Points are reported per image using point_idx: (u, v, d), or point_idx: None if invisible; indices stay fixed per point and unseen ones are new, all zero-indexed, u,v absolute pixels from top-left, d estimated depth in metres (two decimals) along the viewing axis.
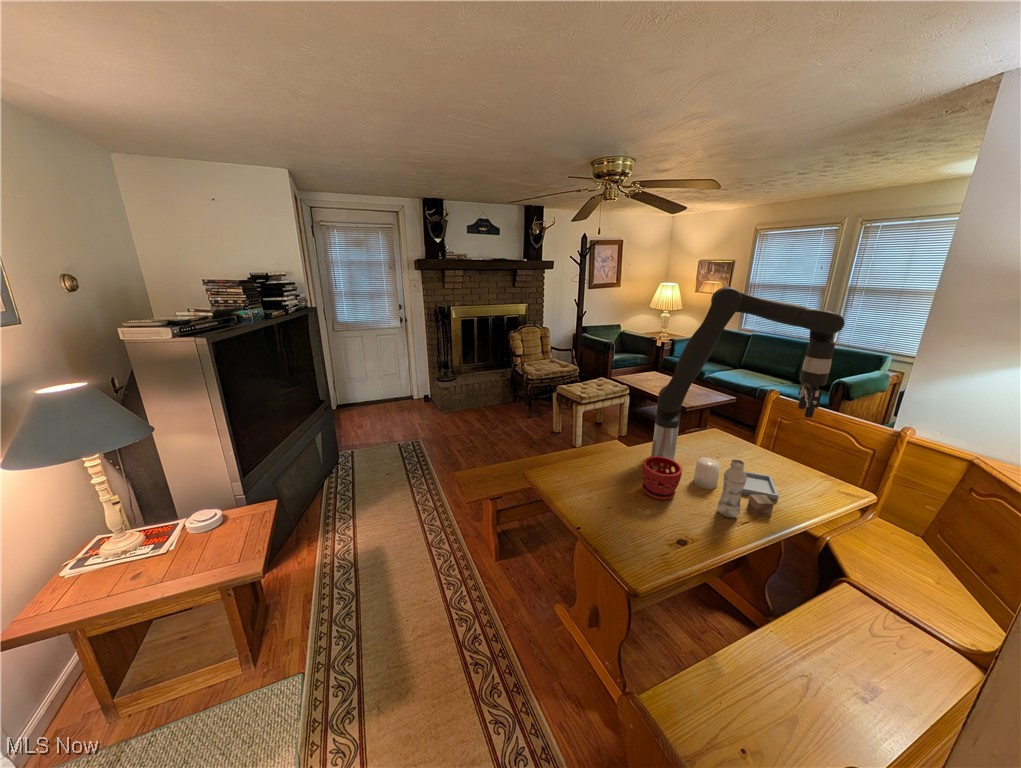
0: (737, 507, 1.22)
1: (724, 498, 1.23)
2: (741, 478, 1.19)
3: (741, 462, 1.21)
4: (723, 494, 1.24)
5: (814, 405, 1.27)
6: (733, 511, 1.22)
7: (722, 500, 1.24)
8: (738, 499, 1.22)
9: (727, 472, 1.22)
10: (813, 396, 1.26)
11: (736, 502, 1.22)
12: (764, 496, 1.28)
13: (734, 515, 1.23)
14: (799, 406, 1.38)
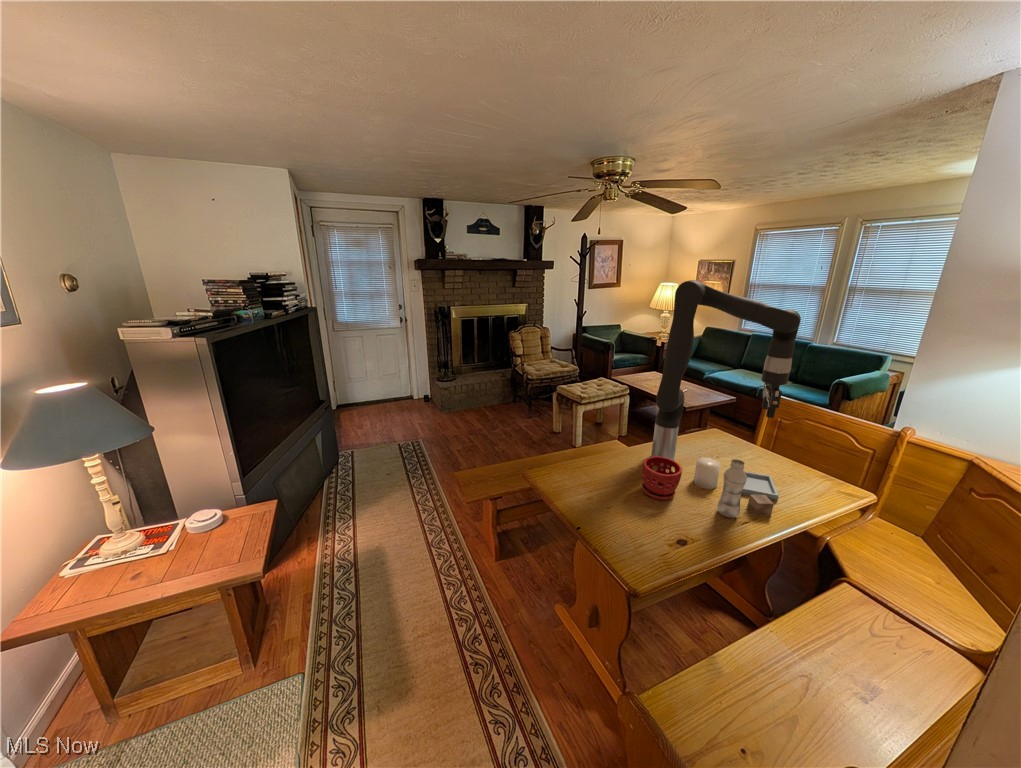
0: (737, 507, 1.22)
1: (724, 498, 1.23)
2: (741, 478, 1.19)
3: (741, 462, 1.21)
4: (723, 494, 1.24)
5: (774, 405, 1.25)
6: (733, 511, 1.22)
7: (722, 500, 1.24)
8: (738, 499, 1.22)
9: (727, 472, 1.22)
10: (773, 396, 1.24)
11: (736, 501, 1.22)
12: (764, 496, 1.28)
13: (734, 515, 1.23)
14: (763, 406, 1.36)
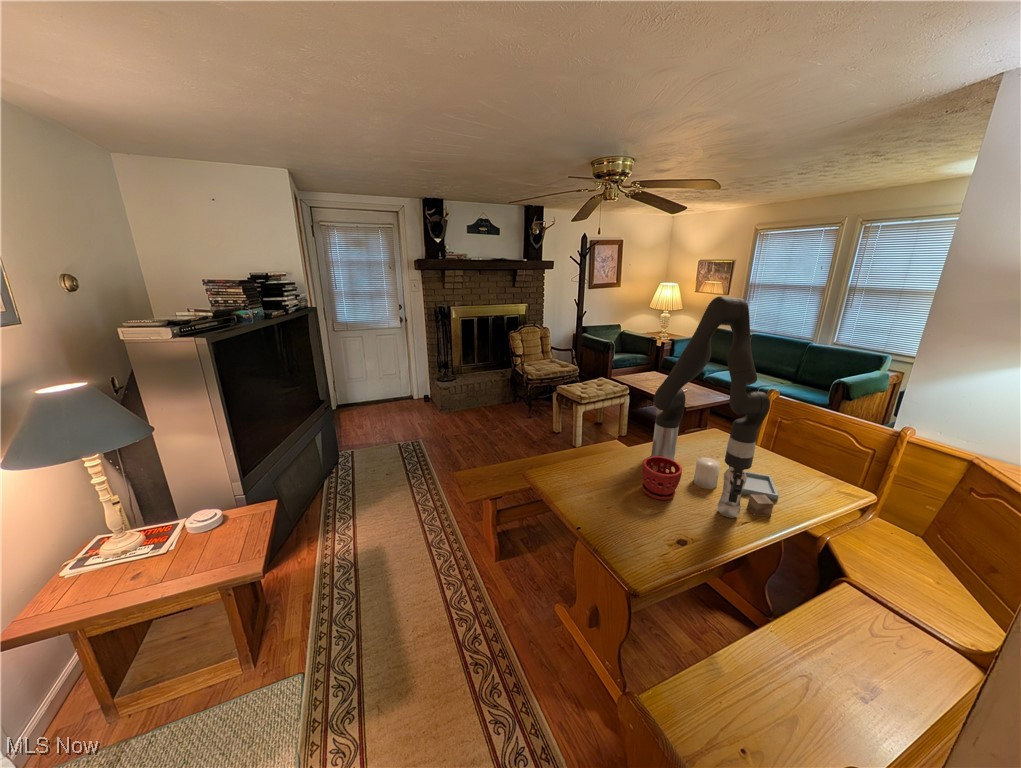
0: (737, 507, 1.22)
1: (724, 498, 1.23)
2: (741, 478, 1.19)
3: None
4: (723, 494, 1.24)
5: (736, 492, 1.17)
6: (733, 511, 1.22)
7: (722, 500, 1.24)
8: (738, 499, 1.22)
9: (727, 472, 1.22)
10: (735, 484, 1.16)
11: (736, 502, 1.22)
12: (764, 496, 1.28)
13: (734, 515, 1.23)
14: None
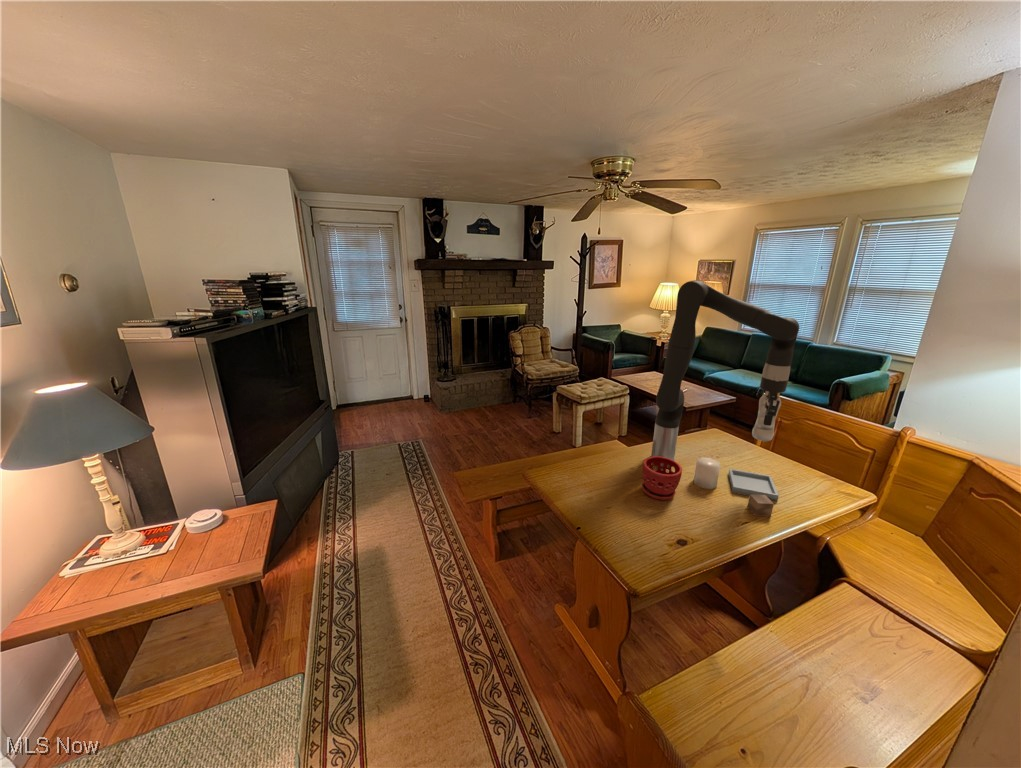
0: (772, 430, 1.32)
1: (759, 423, 1.32)
2: None
3: None
4: (758, 419, 1.33)
5: (772, 413, 1.27)
6: (767, 435, 1.32)
7: (757, 425, 1.33)
8: (773, 423, 1.31)
9: (763, 397, 1.31)
10: (771, 405, 1.25)
11: (770, 425, 1.31)
12: (764, 496, 1.28)
13: (769, 438, 1.32)
14: None
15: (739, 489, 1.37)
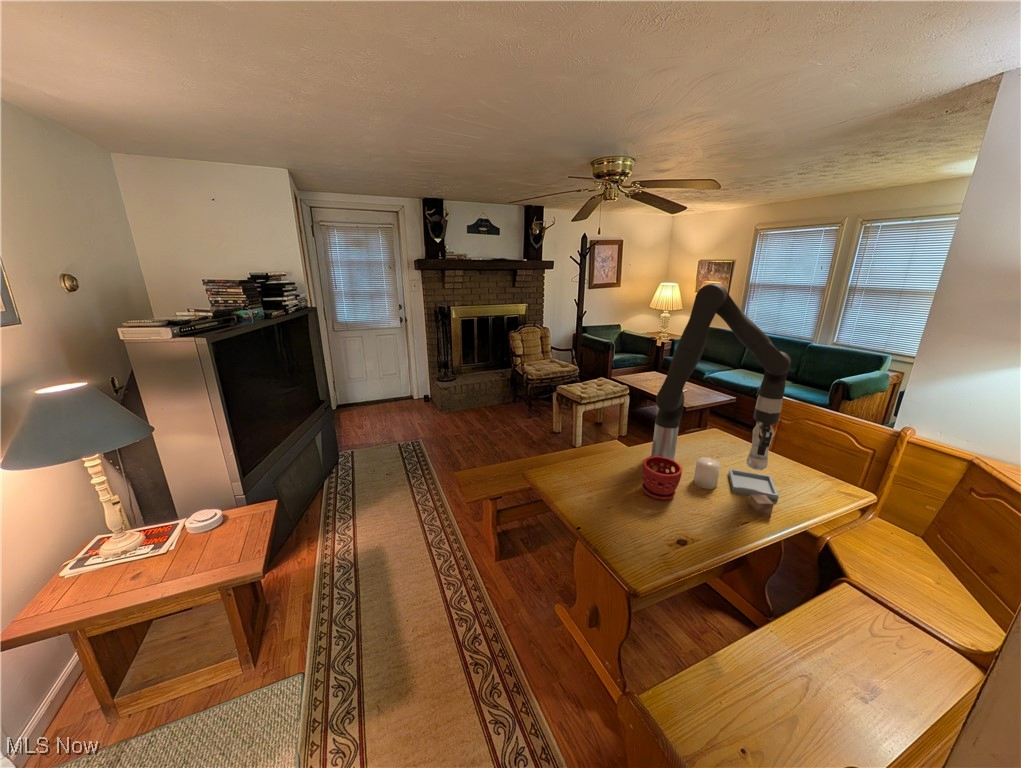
0: (765, 460, 1.35)
1: (753, 452, 1.36)
2: None
3: None
4: (752, 449, 1.37)
5: (765, 444, 1.30)
6: (761, 464, 1.35)
7: (751, 454, 1.37)
8: (766, 452, 1.34)
9: (756, 428, 1.34)
10: (764, 437, 1.29)
11: (764, 455, 1.35)
12: (764, 496, 1.28)
13: (762, 467, 1.36)
14: None
15: (739, 489, 1.37)
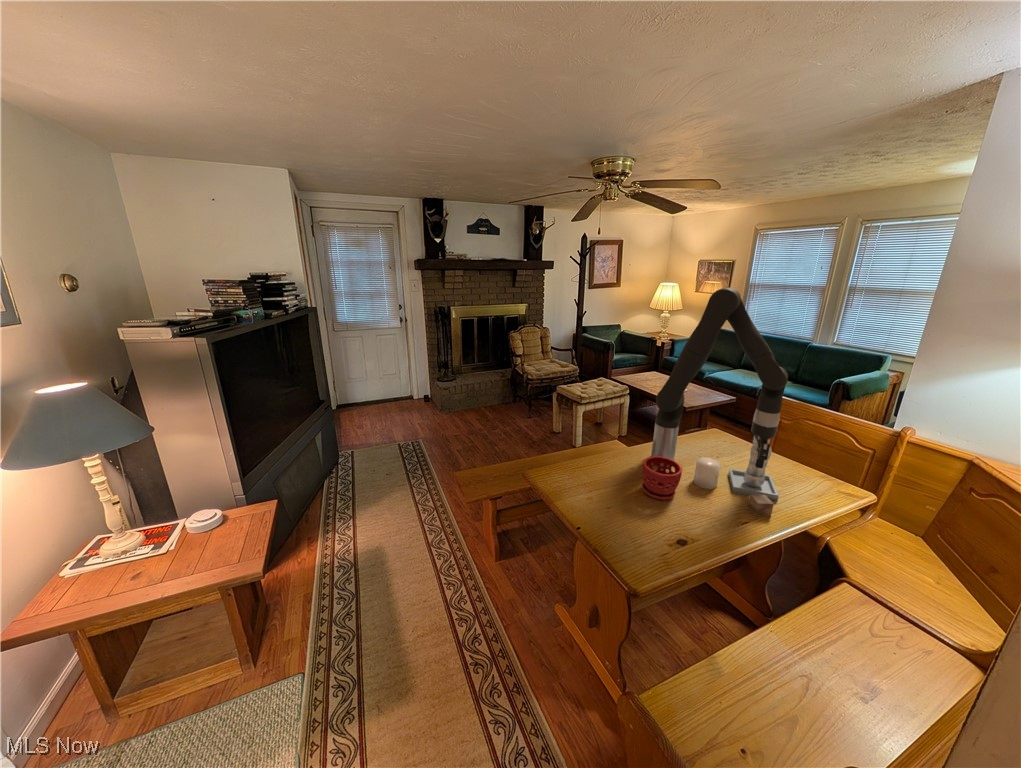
0: (762, 477, 1.37)
1: (751, 470, 1.38)
2: None
3: None
4: (749, 466, 1.39)
5: (763, 457, 1.31)
6: (758, 481, 1.37)
7: (748, 471, 1.39)
8: (763, 470, 1.36)
9: (754, 446, 1.36)
10: (762, 449, 1.30)
11: (761, 472, 1.37)
12: (764, 496, 1.28)
13: (759, 485, 1.38)
14: None
15: (739, 489, 1.37)
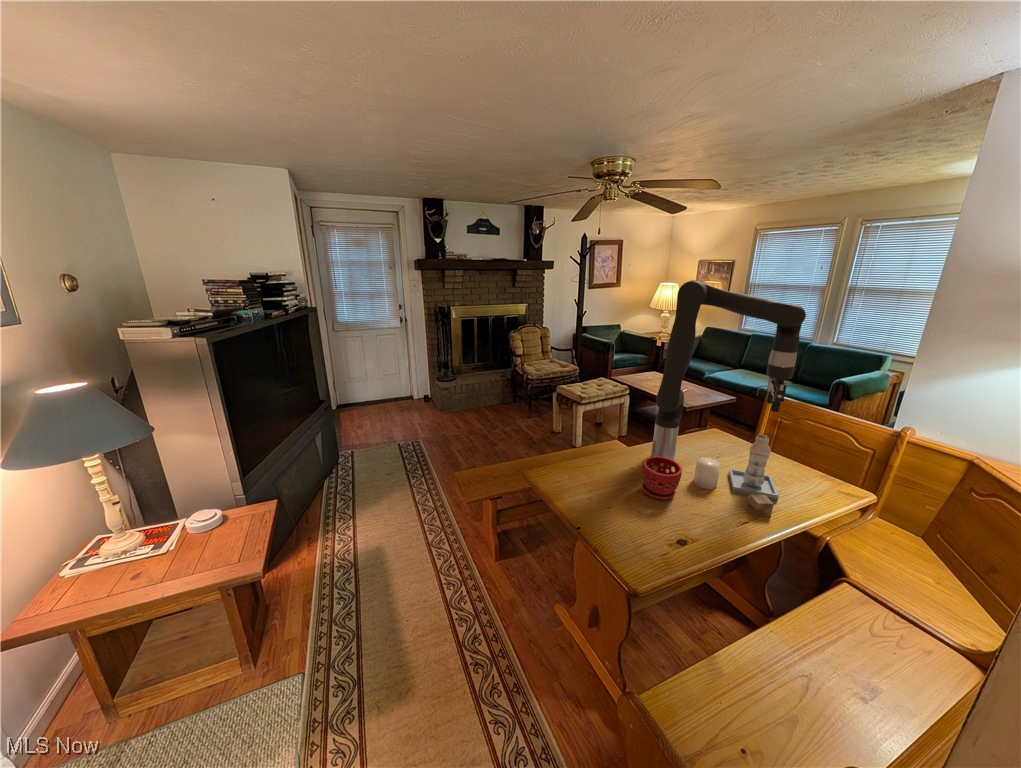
0: (762, 477, 1.37)
1: (750, 470, 1.38)
2: (766, 450, 1.34)
3: (765, 437, 1.36)
4: (749, 466, 1.39)
5: (779, 399, 1.26)
6: (758, 481, 1.37)
7: (748, 471, 1.39)
8: (763, 470, 1.37)
9: (753, 446, 1.36)
10: (778, 390, 1.25)
11: (760, 472, 1.37)
12: (764, 496, 1.27)
13: (759, 485, 1.38)
14: (768, 401, 1.37)
15: (739, 489, 1.37)
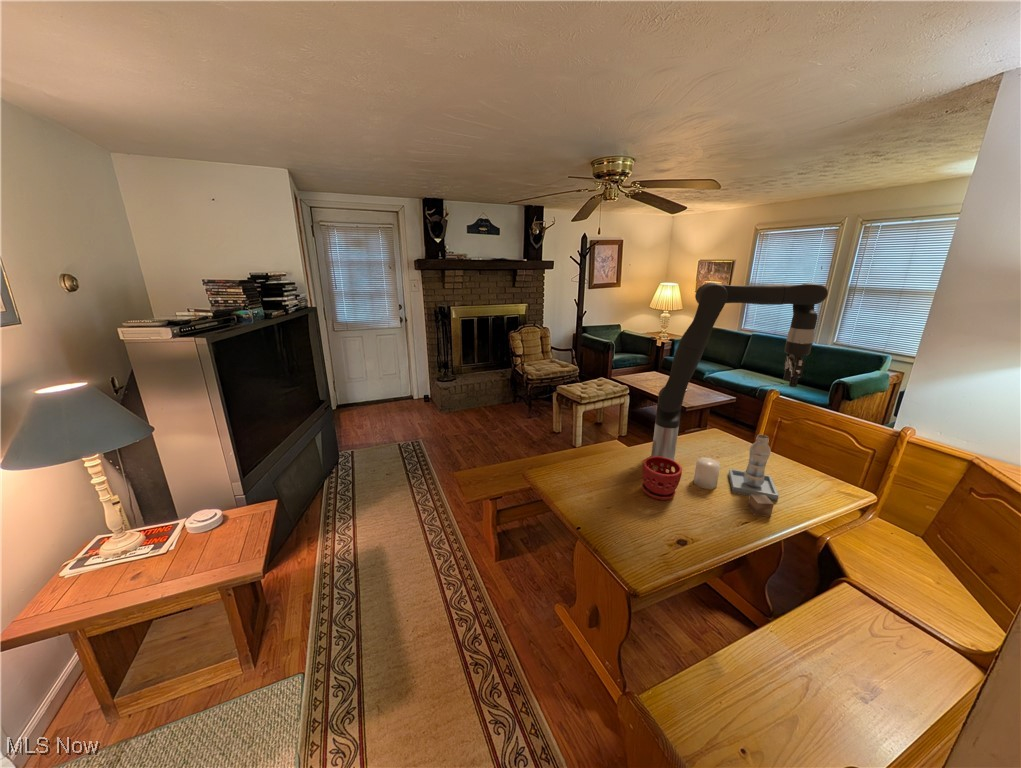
0: (762, 477, 1.37)
1: (750, 470, 1.38)
2: (766, 450, 1.34)
3: (765, 437, 1.36)
4: (749, 466, 1.39)
5: (798, 374, 1.31)
6: (758, 481, 1.37)
7: (748, 471, 1.39)
8: (763, 470, 1.37)
9: (753, 446, 1.36)
10: (797, 365, 1.31)
11: (760, 472, 1.37)
12: (764, 496, 1.28)
13: (759, 485, 1.38)
14: (784, 377, 1.42)
15: (739, 489, 1.37)
